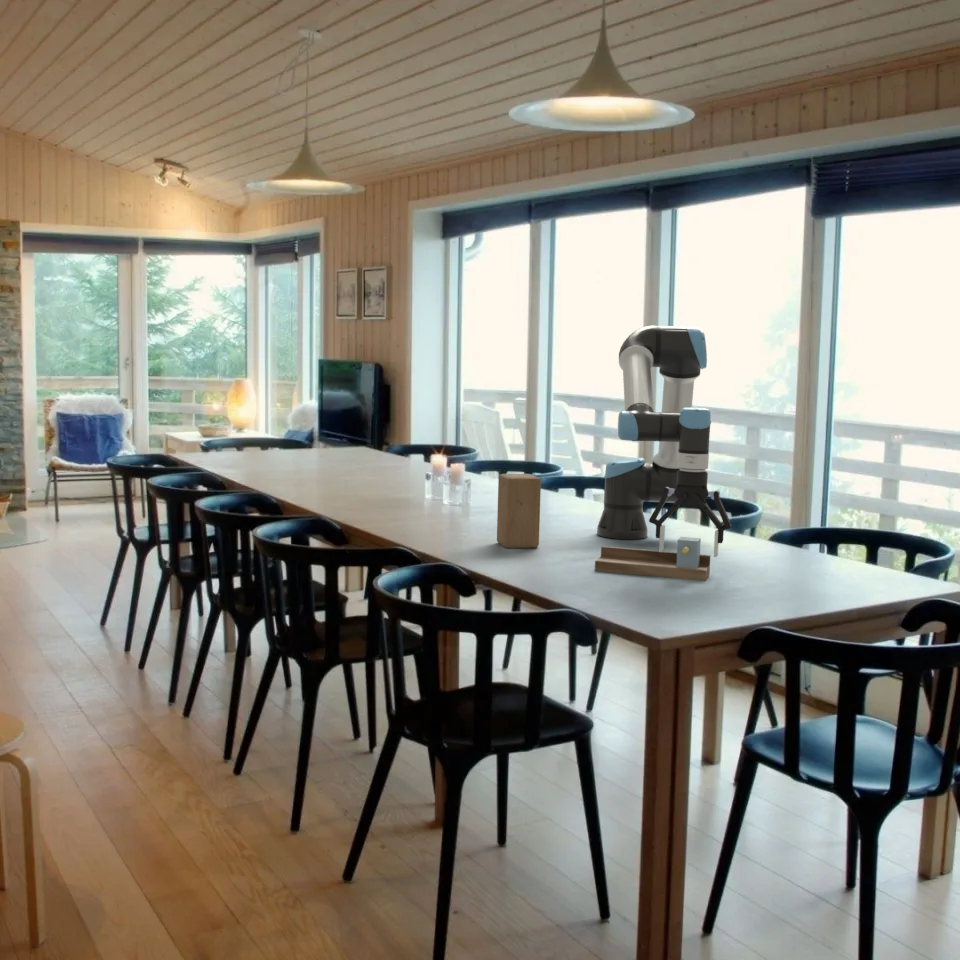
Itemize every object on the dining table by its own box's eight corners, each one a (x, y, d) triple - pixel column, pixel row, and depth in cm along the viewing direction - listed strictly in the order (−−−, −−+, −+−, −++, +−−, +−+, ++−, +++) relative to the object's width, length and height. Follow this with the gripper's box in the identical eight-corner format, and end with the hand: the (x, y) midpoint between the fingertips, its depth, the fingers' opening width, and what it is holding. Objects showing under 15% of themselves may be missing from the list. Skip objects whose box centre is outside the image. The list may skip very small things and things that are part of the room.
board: (601, 564, 299) (602, 546, 299) (709, 574, 291) (710, 555, 290) (594, 570, 292) (595, 551, 291) (705, 580, 283) (706, 560, 282)
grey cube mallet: (679, 563, 291) (680, 536, 290) (699, 565, 289) (700, 538, 288) (673, 571, 281) (674, 543, 281) (693, 572, 280) (694, 544, 279)
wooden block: (505, 549, 318) (507, 477, 315) (495, 542, 327) (497, 473, 325) (539, 548, 321) (542, 477, 318) (528, 541, 330) (531, 473, 328)
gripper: (640, 468, 285) (636, 551, 288) (742, 474, 277) (737, 560, 280) (645, 465, 292) (641, 546, 295) (745, 471, 284) (740, 555, 287)
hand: (688, 553), depth 287 cm, fingers open, 13 cm apart
